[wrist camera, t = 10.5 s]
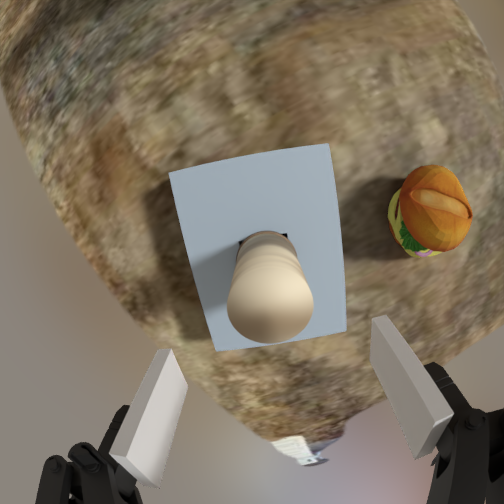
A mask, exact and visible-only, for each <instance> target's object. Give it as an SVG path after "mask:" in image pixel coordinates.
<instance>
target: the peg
mask: <svg viewBox="0 0 504 504" xmlns="http://www.w3.org/2000/svg"><path fill="white" fill-rule="evenodd" d="M313 307H314V302H313V296H312V293H311V291H310V288H309V285H308V283H307V280H306V278H305V275H304V273H303V270H302V268H301V265H300V263H299V261H298V258H297V253H296V250H295V248H294V246H293V244H292V243H291V242H290V240H289V239H288V238H286V237H285V236H284V235H282V234H280V233H278V232H274V231H260V232H256V233H254V234H252V235H250V236H249V237H247V238H246V239H245V240H244V241H243V242H242V244H241V245H240V247H239V249H238V252H237V256H236V265H235V269H234V274H233V278H232V282H231V286H230V291H229V295H228V299H227V314H228V317H229V320H230V322H231V324H232V325H233V327H234V328H235V329H236V330H237V332H239V333H240V334H241V335H242V336H244V337H245V338H247V339H249V340H252V341H255V342H259V343H265V344H273V343H280V342H284V341H287V340H289V339H291V338H293V337H295V336H296V335H298V334H299V333H300V332H301V331H302V330H303V329H304V328H305V327H306V326H307V324H308V323H309V321H310V319H311V317H312V313H313Z"/></svg>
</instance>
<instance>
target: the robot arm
mask: <svg viewBox="0 0 504 504" xmlns="http://www.w3.org/2000/svg"><path fill="white" fill-rule="evenodd" d="M370 363H371V365H372V367H373V369H374V371H375V373H376V375H377V377H378V379H379V381H380V383H381V385H382V387H383V389H384V392H385V394H386V396H387V398H388V400H389V402H390V404H391V407H392V409H393V411H394V413H395V415H396V418H397V420H398V422H399V424H400V427H401V429H402V431H403V433H404V436H405V438H406V440H407V443H408V445H409V448H410V450H411V453H412V455H413V457H414V459H415V460H416V459H418V458H421V457H423V456H425V455H428V454H430V453H432V451H433V449H434V448H435V446H436V447H437V449H438V451H439V452H438V454H437V455H436V457H435V458H434V460H433V461H432V464H431V466H433V465H434V464H435V469H434V474H433V479H432V484H431V488H430V492H429V496H428V500H427V504H484V501H485V499H486V504H504V408H503V409H500V410H496V411H493V412H488V413H485V412H484V411H482V410H480V409H474V408H472V407H471V406H470V405H469V403H468V402H467V400H466V399H465V398H464V396H463V395H462V393H461V392H460V390H459V389H458V387H457V386H456V385H455V384H454V383H453V381H452V379H451V378H450V377H449V375H448V374H447V373H446V371H445V370H444V368H443V367H441V366H440V365H438V364H437V363H435V362H432V363H429V364H427V365H424V366H423V365H422V363H421V362H420V360H419V359H418V358H417V356H416V355H415V353H414V352H413V351H412V349H411V348H410V346H409V345H408V344H407V342H406V341H405V339H404V338H403V337H402V335H401V334H400V333H399V331H398V330H397V329H396V327H395V326H394V325H393V323H392V322H391V321H390V319H389V318H388V317H387V315H383V316H379V317H375V318H372V331H371V348H370ZM187 389H188V385H187V383H186V381H185V379H184V377H183V374H182V372H181V370H180V368H179V365H178V363H177V361H176V358H175V356H174V354H173V351H172V349H158V350H157V353H156V354H155V356H154V358H153V360H152V362H151V364H150V366H149V369H148V370H147V372H146V374H145V376H144V379H143V380H142V383H141V385H140V387H139V389H138V391H137V393H136V395H135V397H134V399H133V401H132V403H131V406H129V405H123V406H122V407H121V408H120V409H119V410H118V411H117V412H116V414H115V416H114V418H113V420H112V422H111V424H110V426H109V429H108V430H107V432H106V434H105V436H104V438H103V440H102V442H101V445H100V447H99V449H98V451H97V450H96V449H95V448H94V447H93V446H92V445H91V444H89V443H86V442H80V443H78V444H75V445H74V446H73V447H72V448H71V449H70V451H69V453H68V458H70V460H72V461H73V462H67V461H66V460H65V459H64V458H63V457H62V456H59V455H53V456H51V457H49V458H48V459H47V460H46V462H45V464H44V467H43V471H42V475H41V479H40V484H39V488H38V493H37V498H36V503H35V504H143V503H142V499H141V496H140V493H139V491H138V488H137V487H136V486H135V484H136V481H139V482H140V483H141V484H142V485H143V486H148V487H153V488H159V489H160V485H161V481H162V477H163V473H164V470H165V466H166V463H167V459H168V455H169V451H170V448H171V444H172V441H173V437H174V434H175V430H176V427H177V423H178V419H179V416H180V413H181V409H182V406H183V402H184V399H185V395H186V392H187ZM435 462H436V463H435ZM69 494H72V497H71V498H70V499H69Z"/></svg>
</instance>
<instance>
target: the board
mask: <svg viewBox="0 0 504 504" xmlns="http://www.w3.org/2000/svg"><path fill="white" fill-rule="evenodd" d="M169 177H170V182H171V186H172V191H173V195H174V200H175V204H176V209H177V213H178V217H179V222H180V226H181V230H182V234H183V238H184V242H185V246H186V250H187V254H188V258H189V261H190V265H191V269H192V273H193V276H194V280H195V283H196V287H197V291H198V294H199V297H200V301H201V304H202V308H203V311H204V314H205V318H206V321H207V324H208V327H209V331H210V334H211V337H212V340H213V343H214V346H215V349H216V351H225V350H234V349H243V348H251V347H259V346H266V345H273V344H279V343H273V344H265V343H259V342H255V341H252V340H249V339H247V338H245V337H244V336H242V335H241V334H240V333H239V332H237V330H236V329H235V328H234V327H233V325H232V324H231V322H230V320H229V317H228V314H227V299H228V295H229V291H230V286H231V282H232V278H233V274H234V269H235V265H236V256H237V252H238V249H239V247H240V245H241V244H242V242H243V241H244V240H245V239H246V238H247V237H249V236H250V235H252V234H254V233H256V232H260V231H274V232H278V233H280V234H283V233H284V234H285V237H286V238H288V239H289V240H290V242H291V243H292V244H293V246H294V248H295V250H296V253H297V258H298V261H299V263H300V265H301V268H302V270H303V273H304V275H305V278H306V280H307V283H308V285H309V288H310V291H311V293H312V296H313V302H314V307H313V313H312V317H311V319H310V321H309V323H308V324H307V326H306V327H305V328H304V329H303V330H302V331H301V332H300V333H299V334H298V335H296V336H295V337H293V338H291V339H289V340H287V341H284V342H280V343H286V342H292V341H298V340H303V339H309V338H314V337H319V336H325V335H330V334H334V333H339V332H344V331H346V297H345V277H344V262H343V249H342V238H341V228H340V218H339V210H338V201H337V194H336V186H335V180H334V173H333V166H332V160H331V154H330V149H329V143H328V144H319V145H310V146H303V147H295V148H288V149H281V150H275V151H269V152H263V153H257V154H252V155H246V156H241V157H236V158H231V159H226V160H221V161H216V162H212V163H207V164H203V165H199V166H194V167H190V168H186V169H182V170H178V171H174V172H171V173H169Z"/></svg>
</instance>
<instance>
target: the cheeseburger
mask: <svg viewBox="0 0 504 504" xmlns="http://www.w3.org/2000/svg"><path fill="white" fill-rule="evenodd" d="M472 217H473V215H472V210H471V207H470V205H469V203H468V200H467V198H466V196H465V194H464V191H463V189H462V187H461V185H460V183H459V181H458V179H457V178H456V176H455V175H454V173H453V172H451V171H450V170H448V169H447V168H445V167H443V166H438V165H428V166H421V167H419V168H417V169H415V170H413V171H412V172H411V173H410V174H409V175H408V176H407V178H406V180H405V181H404V183H403V185H402V187H401V188H399V190H398V191H397V192H396V193H395V194H394V195H393V197H392V199H391V201H390V204H389V208H388V219H389V228H390V231H391V233H392V235H393V237H394V239H395V241H396V242H397V243H398V244H399V245H400V246H401V247H402V248H403V249H404V250H405V251H406V252H407V253H408V254H409V255H410V256H413V257H420V258H421V257H430V256H434V255H437V254H439V253H441V252H445V251H449V250H452V249H454V248H456V247H457V246H458V245H459V244H460V243H461V242H462V241H463V239H464V237H465V236H466V234H467V232H468V230H469V228H470V225H471V222H472Z"/></svg>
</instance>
